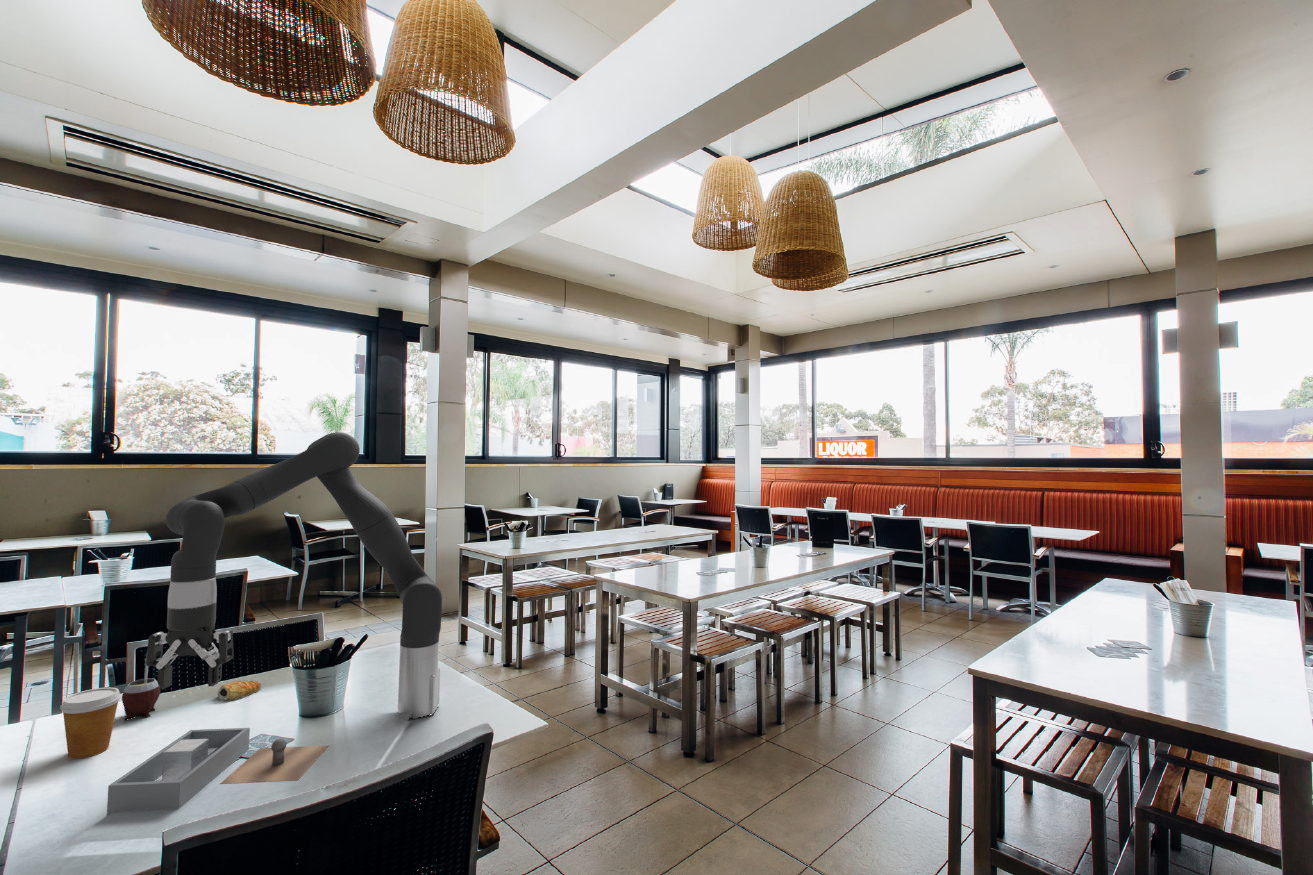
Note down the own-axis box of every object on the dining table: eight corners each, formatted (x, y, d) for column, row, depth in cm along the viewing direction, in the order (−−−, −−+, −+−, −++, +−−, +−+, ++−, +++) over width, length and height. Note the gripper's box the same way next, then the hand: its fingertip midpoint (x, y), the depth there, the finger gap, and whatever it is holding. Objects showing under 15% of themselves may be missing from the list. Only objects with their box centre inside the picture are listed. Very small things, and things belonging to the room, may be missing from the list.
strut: (197, 760, 121) (199, 727, 122) (223, 759, 122) (225, 726, 122) (139, 805, 106) (141, 766, 106) (169, 803, 106) (171, 765, 106)
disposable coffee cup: (129, 745, 129) (132, 690, 130) (74, 766, 120) (77, 706, 121) (101, 738, 132) (104, 684, 133) (46, 758, 123) (49, 700, 124)
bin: (189, 758, 124) (190, 729, 124) (248, 756, 125) (249, 727, 125) (106, 820, 102) (108, 785, 103) (178, 816, 104) (180, 782, 104)
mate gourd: (133, 723, 140) (136, 659, 140) (111, 718, 142) (115, 655, 143) (167, 710, 147) (170, 650, 148) (146, 706, 149) (149, 646, 150)
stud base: (329, 752, 127) (330, 722, 127) (297, 787, 113) (298, 754, 114) (260, 755, 126) (261, 725, 126) (219, 791, 112) (221, 758, 112)
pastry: (252, 686, 164) (253, 672, 164) (266, 691, 161) (267, 677, 161) (214, 698, 155) (215, 683, 156) (228, 703, 152) (229, 688, 153)
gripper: (242, 596, 120) (240, 677, 119) (166, 598, 118) (163, 680, 117) (220, 606, 112) (217, 691, 112) (138, 607, 110) (134, 695, 110)
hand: (189, 685), depth 114 cm, fingers open, 8 cm apart
